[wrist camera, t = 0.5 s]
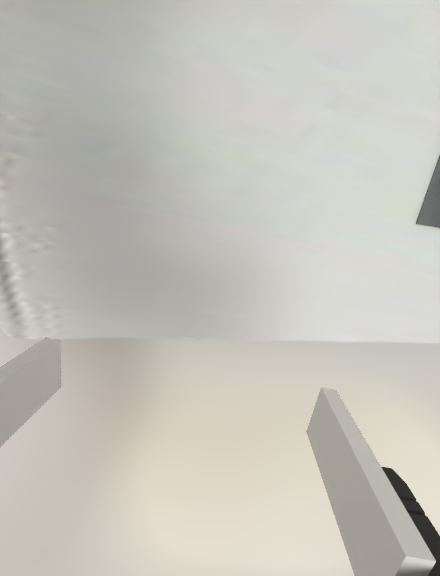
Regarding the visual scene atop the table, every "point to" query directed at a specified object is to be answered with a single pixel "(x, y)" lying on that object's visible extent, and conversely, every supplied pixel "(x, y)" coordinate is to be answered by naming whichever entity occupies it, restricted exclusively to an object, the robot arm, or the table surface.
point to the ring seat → (432, 202)
